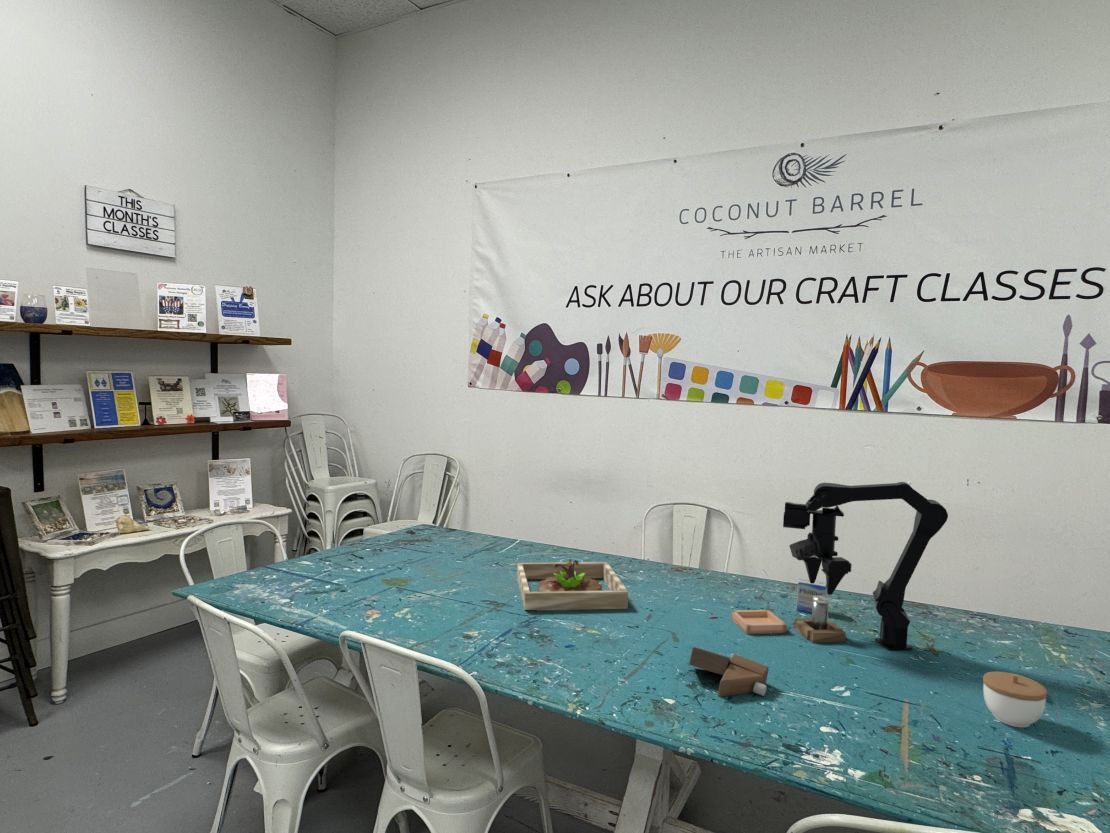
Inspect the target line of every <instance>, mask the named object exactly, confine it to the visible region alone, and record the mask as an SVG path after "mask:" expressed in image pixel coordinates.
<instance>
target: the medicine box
mask: <svg viewBox="0 0 1110 833" xmlns="http://www.w3.org/2000/svg"><path fill="white" fill-rule="evenodd" d="M796 592H797V594H796V604H795V605H796V607H795V609H796V611H797V612H802V613H806V612H807V613H809V614H812V605H813V596H816V595H819V596H825V597H827V598H828V594H827V584H826V582H824V581H823V582H821V581H816V580H815V583H810V581H809V579H802V578H799V580H798V581H797V591H796Z"/></svg>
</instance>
